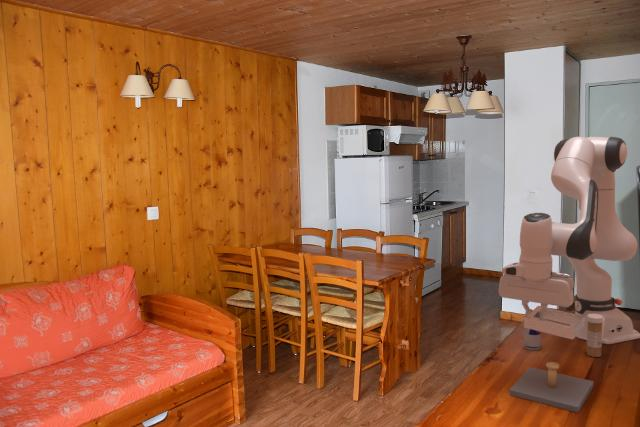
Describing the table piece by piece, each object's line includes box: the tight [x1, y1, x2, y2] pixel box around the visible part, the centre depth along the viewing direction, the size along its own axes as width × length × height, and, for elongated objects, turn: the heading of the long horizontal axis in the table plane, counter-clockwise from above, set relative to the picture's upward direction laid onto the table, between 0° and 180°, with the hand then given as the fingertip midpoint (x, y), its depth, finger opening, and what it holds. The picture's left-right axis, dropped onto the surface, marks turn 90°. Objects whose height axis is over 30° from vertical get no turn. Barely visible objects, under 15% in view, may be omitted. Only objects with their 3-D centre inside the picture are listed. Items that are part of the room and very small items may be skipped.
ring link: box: [523, 305, 586, 340], centre depth 152 cm, size 13×13×3 cm
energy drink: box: [523, 312, 542, 351], centre depth 183 cm, size 5×5×12 cm
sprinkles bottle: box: [586, 314, 603, 358], centre depth 175 cm, size 5×5×13 cm
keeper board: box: [509, 361, 595, 413], centre depth 153 cm, size 18×18×8 cm
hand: (534, 316), depth 156 cm, fingers closed on ring link, 2 cm apart
